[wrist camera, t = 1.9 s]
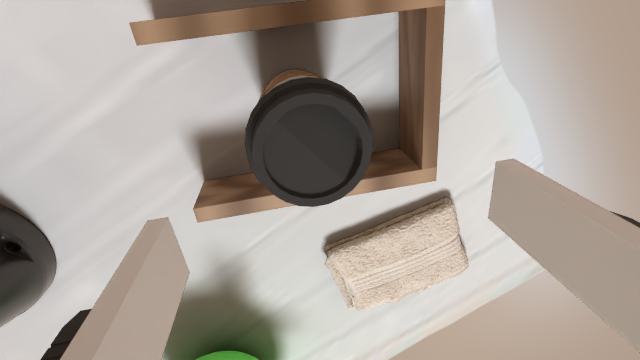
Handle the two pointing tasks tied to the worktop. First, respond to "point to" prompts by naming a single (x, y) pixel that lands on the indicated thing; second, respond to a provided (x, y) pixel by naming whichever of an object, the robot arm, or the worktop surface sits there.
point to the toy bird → (227, 356)
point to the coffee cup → (308, 139)
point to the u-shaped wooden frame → (414, 90)
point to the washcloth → (398, 256)
